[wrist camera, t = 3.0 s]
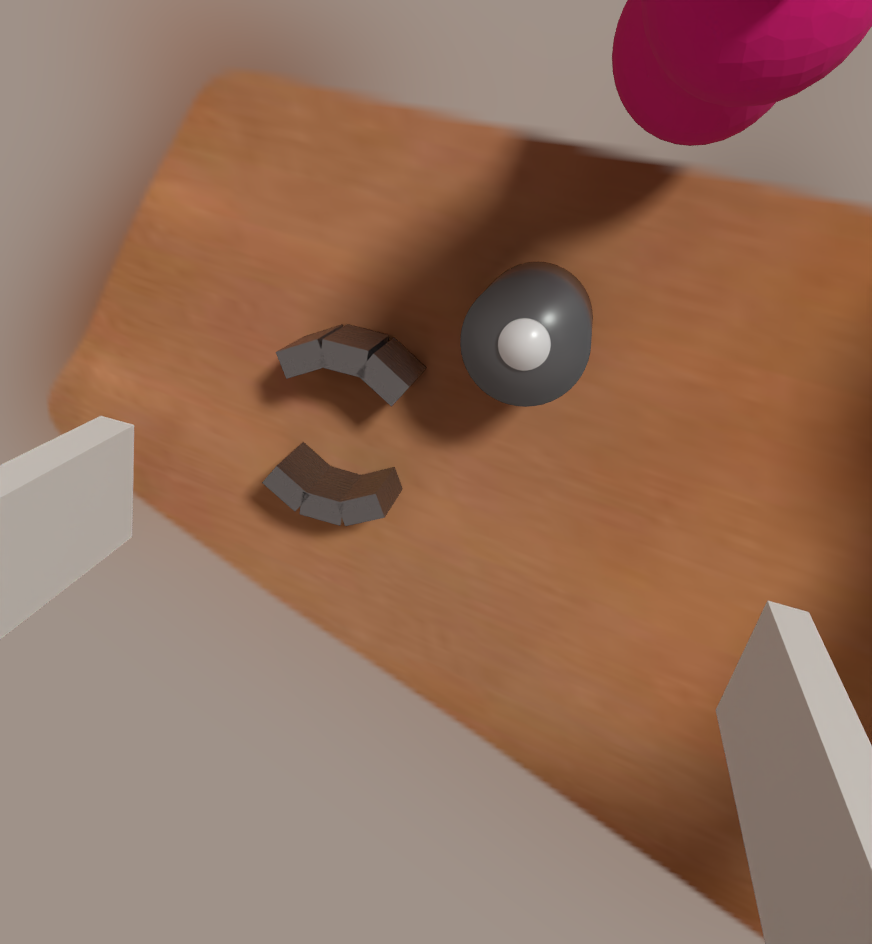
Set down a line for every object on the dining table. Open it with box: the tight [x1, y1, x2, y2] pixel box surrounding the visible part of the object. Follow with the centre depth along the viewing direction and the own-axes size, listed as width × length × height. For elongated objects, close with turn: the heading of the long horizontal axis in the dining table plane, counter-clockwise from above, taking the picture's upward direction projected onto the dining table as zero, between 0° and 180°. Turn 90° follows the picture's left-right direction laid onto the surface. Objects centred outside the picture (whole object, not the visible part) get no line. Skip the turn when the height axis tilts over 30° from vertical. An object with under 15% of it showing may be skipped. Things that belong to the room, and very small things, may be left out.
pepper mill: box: [612, 0, 872, 146], centre depth 24 cm, size 7×7×20 cm
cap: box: [461, 262, 593, 407], centre depth 36 cm, size 6×6×6 cm
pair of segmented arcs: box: [262, 324, 426, 526], centre depth 41 cm, size 10×7×4 cm
